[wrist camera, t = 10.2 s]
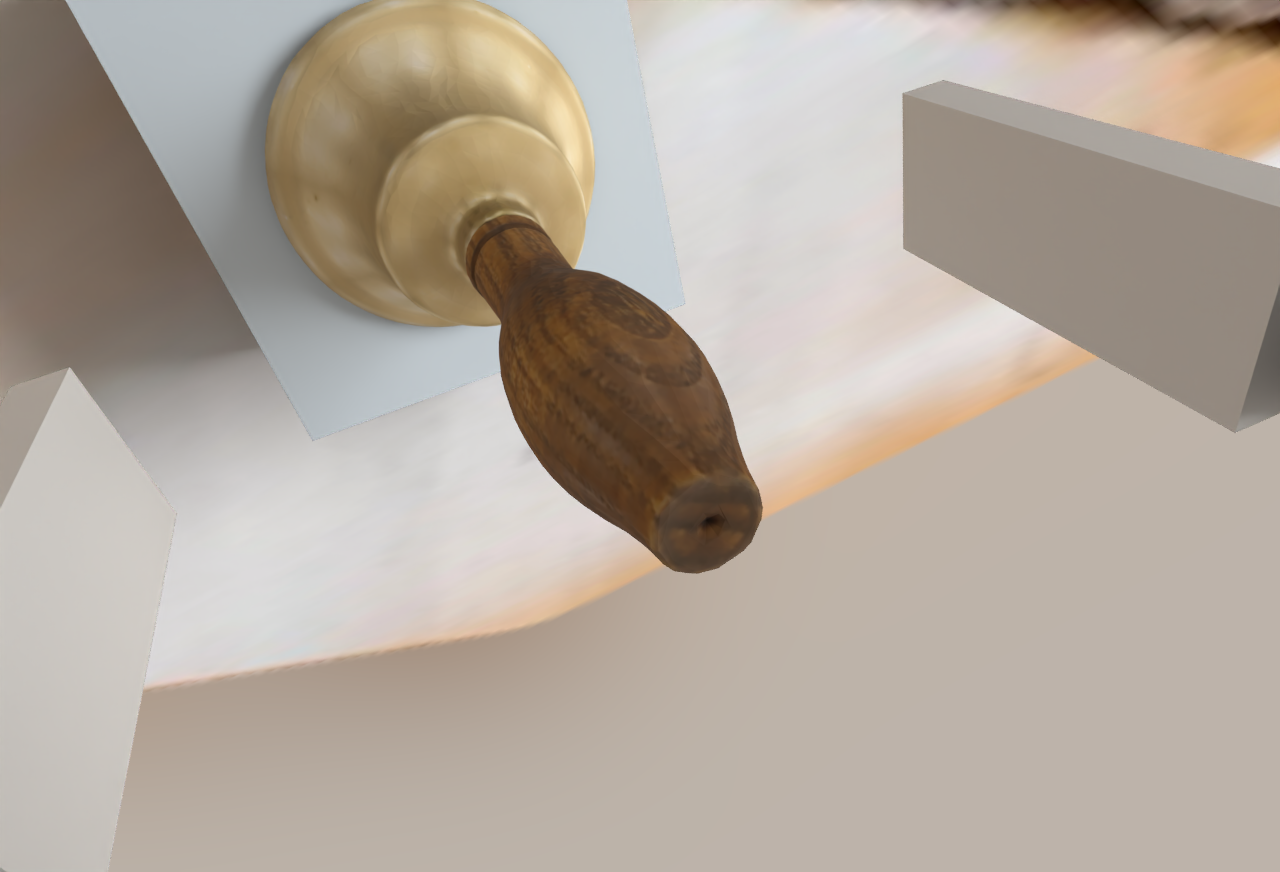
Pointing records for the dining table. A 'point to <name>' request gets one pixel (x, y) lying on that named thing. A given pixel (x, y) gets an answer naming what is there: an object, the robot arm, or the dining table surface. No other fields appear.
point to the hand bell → (504, 256)
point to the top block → (249, 227)
